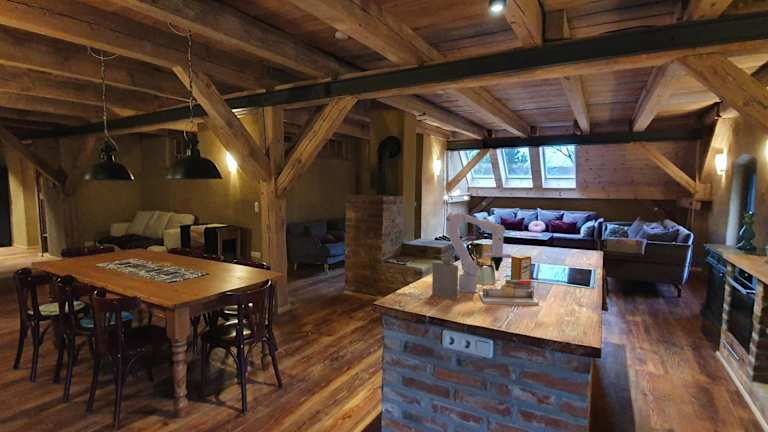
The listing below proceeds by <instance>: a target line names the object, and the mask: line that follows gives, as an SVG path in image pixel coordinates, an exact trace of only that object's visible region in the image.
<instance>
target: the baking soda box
mask: <svg viewBox="0 0 768 432" xmlns="http://www.w3.org/2000/svg"><path fill="white" fill-rule="evenodd" d="M510 259H511V260H510V263H511V264H510V280H531V276H532V275H531V274H532V256H531V255H525V254H517V255H511V258H510ZM531 281H532V280H531ZM515 285H518V286H521V285H523V284H520V283H515Z"/></svg>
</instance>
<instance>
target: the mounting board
mask: <svg viewBox="0 0 768 432" xmlns="http://www.w3.org/2000/svg"><path fill="white" fill-rule="evenodd" d="M478 294H479V295H478V296H479V298H480V299H481V302H482V303H483V304H484V305H485V304H486V305H487V304H489V305H515V306H516V305H517V306H518V305H520V306H522V305H524V306H539V305H540V304H539V303H540V302H539V301H538V300H537V299H536V298H535V297H534V299H531V298H519V297H484V296H483V291H482V292H481V291H480V292H479V291H478Z"/></svg>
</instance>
